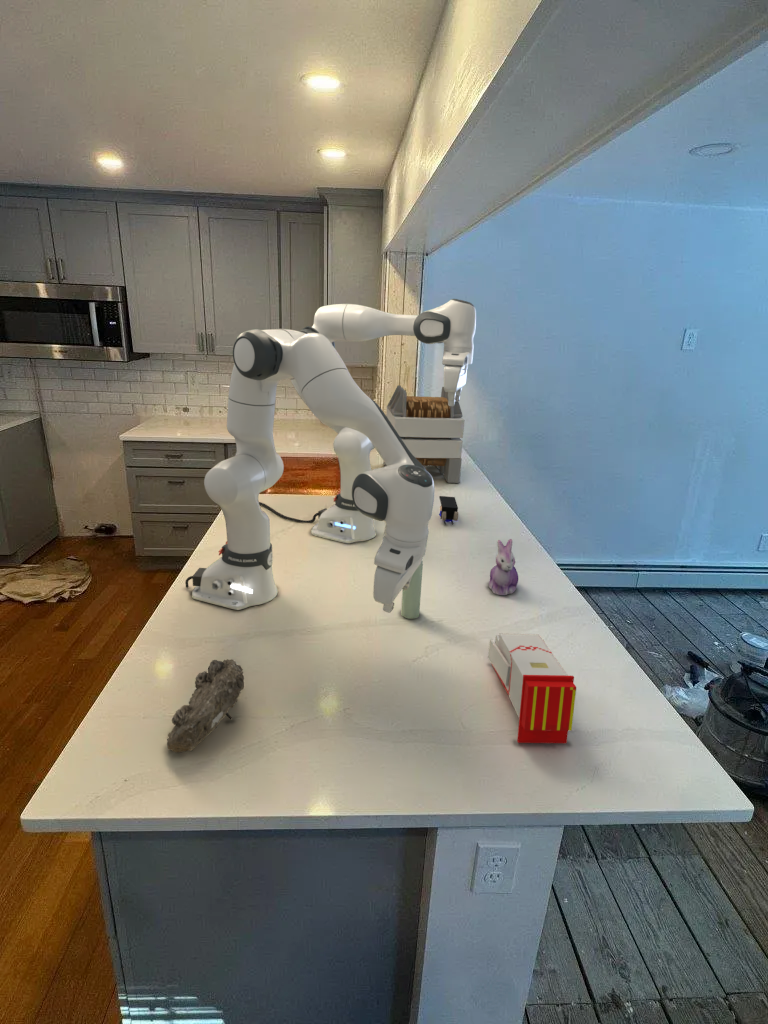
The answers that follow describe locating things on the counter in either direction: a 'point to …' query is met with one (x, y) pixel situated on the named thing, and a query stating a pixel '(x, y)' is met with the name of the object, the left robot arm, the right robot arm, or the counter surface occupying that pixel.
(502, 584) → the figurine
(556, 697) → the toy
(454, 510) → the figurine character
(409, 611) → the bottle
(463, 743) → the counter surface
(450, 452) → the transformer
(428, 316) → the right robot arm
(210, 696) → the fossil
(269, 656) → the counter surface
